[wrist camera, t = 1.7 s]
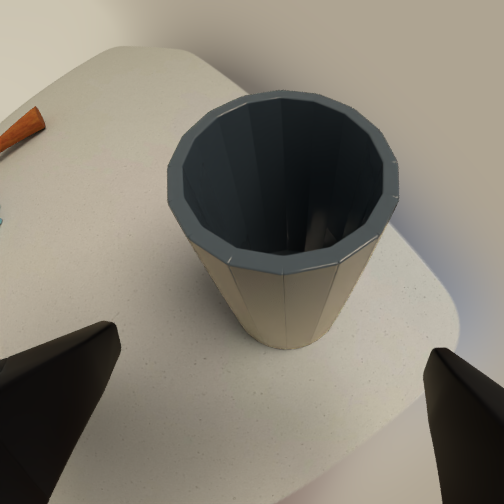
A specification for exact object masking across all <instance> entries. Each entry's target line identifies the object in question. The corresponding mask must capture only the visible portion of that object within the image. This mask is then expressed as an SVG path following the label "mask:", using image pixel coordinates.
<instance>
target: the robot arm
mask: <svg viewBox="0 0 504 504" xmlns="http://www.w3.org/2000/svg"><path fill="white" fill-rule="evenodd" d="M120 352H121V343H120V339H119V335H118V330H117V327H116V325H115V323H113V322H108V321H100V322H98V323H95V324H92V325H90V326H87V327H85V328H82V329H80V330H77V331H75V332H72V333H69V334H67V335H64V336H62V337H59V338H57V339H54V340H51V341H49V342H46V343H44V344H41V345H38V346H36V347H33V348H31V349H28V350H26V351H23V352H20V353H18V354H15V355H13V356H10V357H8V358H5V359H2V360H0V504H48V502H49V498H50V497H51V495H52V493H53V490H54V488H55V486H56V484H57V482H58V480H59V478H60V476H61V474H62V472H63V470H64V468H65V466H66V464H67V462H68V460H69V458H70V456H71V454H72V452H73V450H74V448H75V446H76V444H77V442H78V440H79V438H80V436H81V434H82V432H83V430H84V428H85V426H86V424H87V423H88V421H89V419H90V417H91V415H92V413H93V411H94V409H95V408H96V406H97V404H98V402H99V400H100V398H101V396H102V394H103V392H104V390H105V388H106V386H107V384H108V381H109V379H110V376H111V374H112V371H113V369H114V367H115V364H116V362H117V360H118V357H119V355H120ZM423 381H424V388H425V396H426V404H427V413H428V422H429V427H430V433H431V437H432V442H433V447H434V453H435V458H436V463H437V469H438V475H439V482H440V488H441V495H442V502H443V504H504V388H503V387H501V386H500V385H499V384H497V383H496V382H494V381H493V380H492V379H490V378H489V377H487V376H486V375H485V374H483V373H482V372H480V371H479V370H477V369H476V368H475V367H473V366H472V365H470V364H469V363H468V362H466V361H465V360H463V359H462V358H460V357H459V356H458V355H456V354H455V353H453V352H452V351H451V350H449V349H448V348H434V349H432V351H431V353H430V356H429V359H428V361H427V364H426V367H425V369H424V373H423Z"/></svg>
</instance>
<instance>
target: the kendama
mask: <svg viewBox="0 0 504 504" xmlns="http://www.w3.org/2000/svg"><path fill="white" fill-rule="evenodd" d="M43 128H45V123H44V120H43V118H42V116H41V113H40V112H39V110H38V108H37V107H36V106H35V107H34V108H32V109H31V110H30V111H29V112H27V113H26V114H25V115H24V116H23V117H22V118H20V119H19V120H18V121H17V122H16V123H15V124H13V125H12V126H11V127H10V128H9V129H8V130H7V131H6V132H5V133H3V134H2V135H1V136H0V153H1V152H2V151H4V150H5V149H7V148H9V147H11V146H12V145H14V144H16V143H17V142H19V141H21V140H23V139H24V138H26V137H28V136H30V135H32V134H34V133H35V132H37V131H39V130H41V129H43Z"/></svg>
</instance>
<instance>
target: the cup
mask: <svg viewBox="0 0 504 504" xmlns="http://www.w3.org/2000/svg"><path fill="white" fill-rule="evenodd" d="M398 200H399V172H398V163H397V160H396V158H395V156H394V154H393V152H392V150H391V148H390V146H389V145H388V143H387V141H386V139H385V137H384V135H383V134H382V132H380V130H379V129H378V128H377V127H376V126H374V125H373V124H372V123H371V122H370V121H369V120H367V119H366V118H365V117H364V116H363V115H361V114H360V113H359V112H358V111H357V110H355V109H354V108H352V107H350V106H348V105H345V104H343V103H341V102H338V101H336V100H333V99H330V98H328V97H325V96H322V95H320V94H316V93H307V92H298V91H288V90H287V91H286V90H281V91H280V90H276V91H270V92H263V93H257V94H251V95H245V96H242V97H239V98H237V99H235V100H233V101H230V102H228V103H226V104H224V105H222V106H220V107H217V108H215V109H213V110H211V111H210V112H208V113H207V114H206V115H205V116H203V117H202V118H201V119H200V120H199V121H198V122H197V123H196V124H195V125H194V126H192V127H191V128H190V129H189V130H188V131H187V132H186V133H185V134H184V135H183V136H182V138H181V140H180V142H179V144H178V146H177V148H176V150H175V152H174V154H173V156H172V158H171V160H170V162H169V164H168V168H167V202H168V206H169V207H170V209H171V211H172V213H173V215H174V216H175V218H176V220H177V222H178V223H179V225H180V227H181V229H182V230H183V232H184V234H185V236H186V237H187V239H188V241H189V242H190V244H191V246H192V247H193V249H194V251H195V252H196V254H197V255H198V257H199V259H200V260H201V262H202V264H203V265H204V267H205V268H206V270H207V272H208V273H209V275H210V276H211V278H212V280H213V281H214V283H215V284H216V286H217V288H218V289H219V291H220V292H221V294H222V295H223V297H224V299H225V300H226V302H227V303H228V305H229V306H230V308H231V310H232V311H233V313H234V314H235V316H236V317H237V319H238V320H239V322H240V323H241V325H242V327H243V328H244V330H245V331H246V332H247V333H248V334H249V335H250V336H252V337H253V338H254V339H255V340H257V341H259V342H260V343H262V344H264V345H266V346H269V347H272V348H276V349H297V348H301V347H305V346H307V345H310V344H312V343H314V342H315V341H317V340H318V339H320V338H321V337H322V336H323V335H324V334H325V333H327V332H328V331H329V329H330V328H331V326H332V325H333V323H334V321H335V320H336V318H337V317H338V315H339V314H340V312H341V310H342V308H343V307H344V305H345V303H346V301H347V300H348V298H349V296H350V294H351V293H352V291H353V289H354V287H355V286H356V284H357V282H358V280H359V278H360V276H361V275H362V273H363V271H364V269H365V267H366V265H367V263H368V262H369V260H370V258H371V256H372V254H373V252H374V250H375V248H376V246H377V244H378V242H379V240H380V238H381V236H382V234H383V232H384V230H385V228H386V226H387V224H388V222H389V220H390V218H391V216H392V214H393V212H394V210H395V208H396V206H397V203H398Z"/></svg>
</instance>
